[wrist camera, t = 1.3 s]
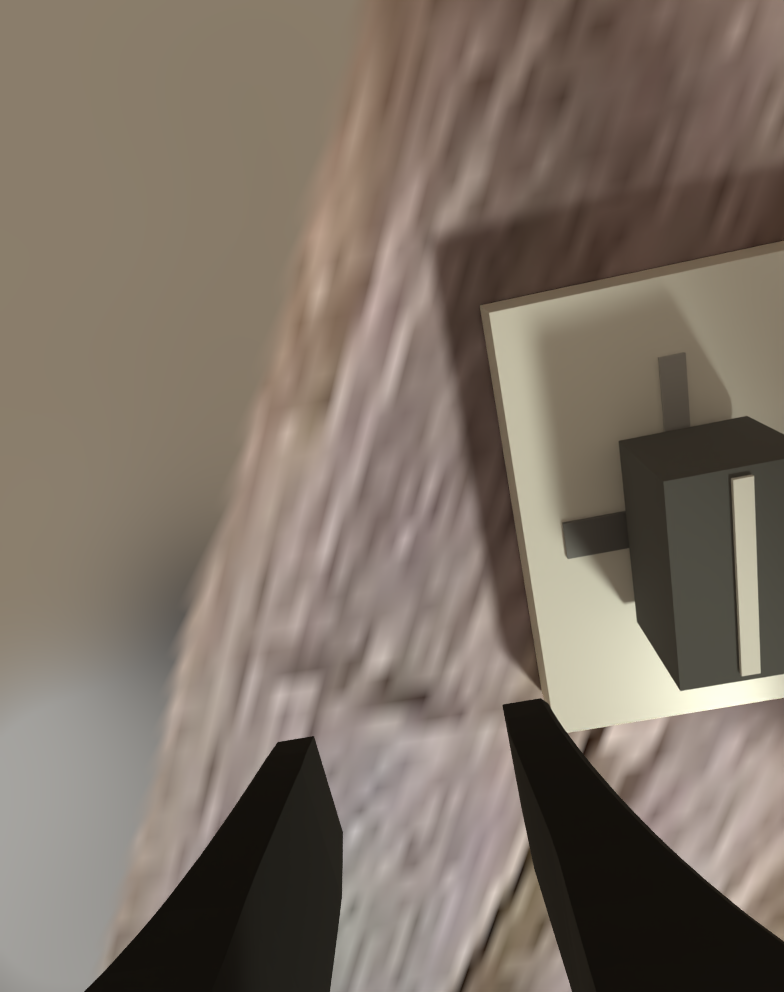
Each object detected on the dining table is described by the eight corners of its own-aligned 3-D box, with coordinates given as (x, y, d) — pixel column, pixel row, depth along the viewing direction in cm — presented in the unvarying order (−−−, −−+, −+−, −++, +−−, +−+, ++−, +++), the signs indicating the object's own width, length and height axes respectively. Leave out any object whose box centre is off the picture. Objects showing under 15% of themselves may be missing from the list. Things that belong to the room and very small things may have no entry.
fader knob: (747, 415, 16) (822, 453, 13) (753, 601, 18) (822, 671, 15) (618, 440, 17) (665, 483, 14) (636, 621, 18) (681, 693, 15)
